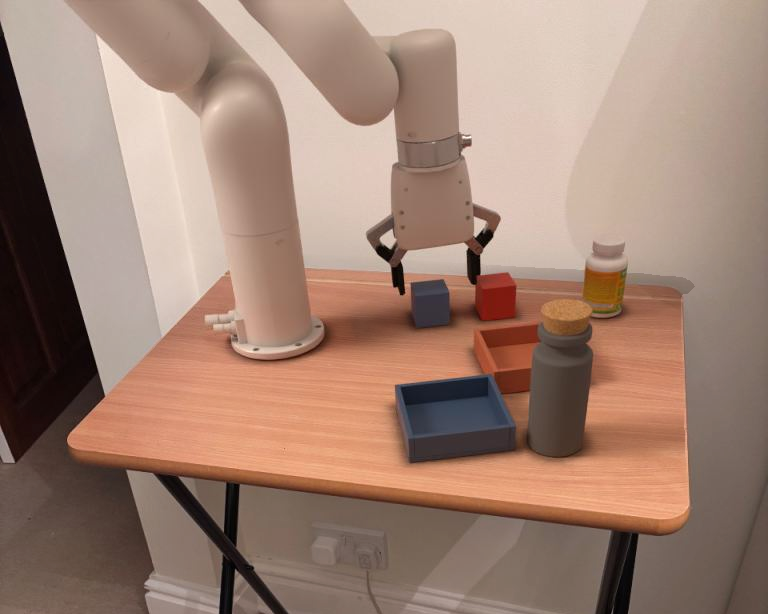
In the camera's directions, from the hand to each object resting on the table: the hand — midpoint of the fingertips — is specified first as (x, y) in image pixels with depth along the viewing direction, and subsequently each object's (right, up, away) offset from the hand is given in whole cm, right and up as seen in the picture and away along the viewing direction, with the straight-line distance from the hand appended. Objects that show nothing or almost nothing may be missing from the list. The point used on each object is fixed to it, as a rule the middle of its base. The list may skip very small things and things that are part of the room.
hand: (436, 286), depth 104 cm
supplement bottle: (+23, -3, +2) cm, 23 cm away
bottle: (+11, -23, -22) cm, 34 cm away
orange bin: (+11, -12, -9) cm, 19 cm away
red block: (+8, -3, +3) cm, 9 cm away
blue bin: (0, -21, -19) cm, 28 cm away
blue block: (-1, -4, +3) cm, 5 cm away
